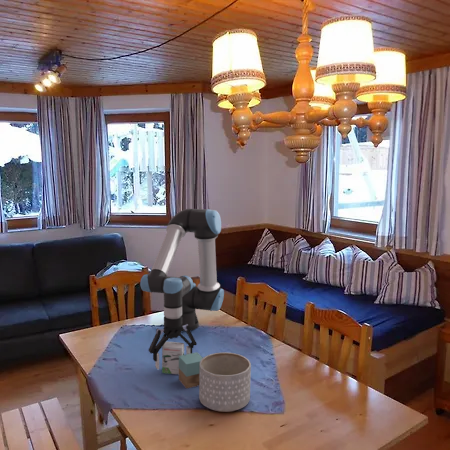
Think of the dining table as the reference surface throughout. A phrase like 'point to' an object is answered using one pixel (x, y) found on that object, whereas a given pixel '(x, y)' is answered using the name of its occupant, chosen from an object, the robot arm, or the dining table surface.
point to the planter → (224, 381)
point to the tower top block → (190, 363)
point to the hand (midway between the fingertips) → (173, 364)
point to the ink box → (171, 357)
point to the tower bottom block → (189, 380)
